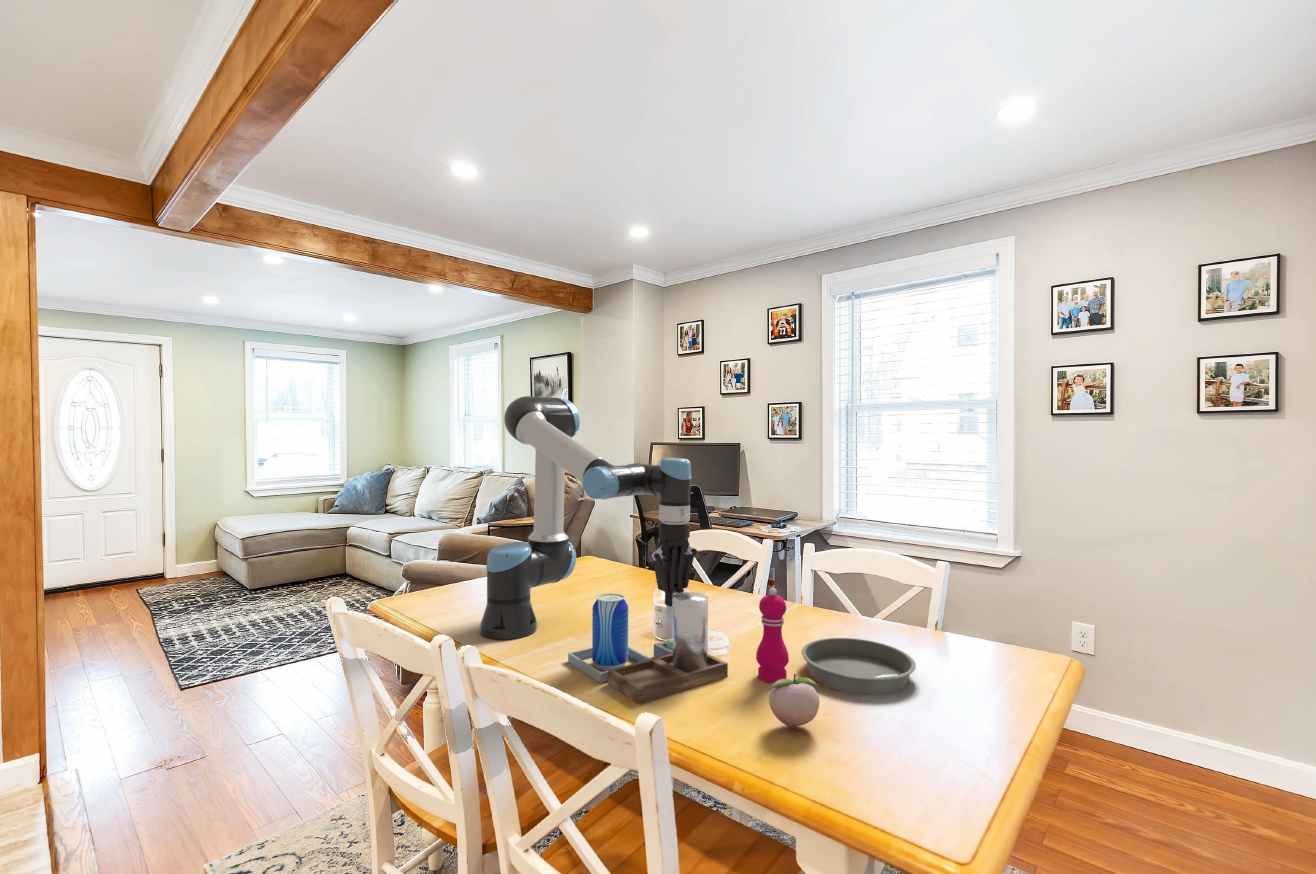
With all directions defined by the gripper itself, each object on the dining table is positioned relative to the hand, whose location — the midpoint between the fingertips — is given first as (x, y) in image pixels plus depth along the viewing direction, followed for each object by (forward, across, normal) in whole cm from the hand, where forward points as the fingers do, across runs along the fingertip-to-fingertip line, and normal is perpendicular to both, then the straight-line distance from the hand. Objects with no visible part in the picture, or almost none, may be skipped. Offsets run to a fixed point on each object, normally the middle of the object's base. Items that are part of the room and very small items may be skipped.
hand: (672, 618), depth 147 cm
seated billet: (+8, -3, -11) cm, 13 cm away
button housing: (+10, 0, -1) cm, 10 cm away
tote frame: (+10, -15, +4) cm, 18 cm away
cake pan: (+9, +28, -33) cm, 44 cm away
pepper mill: (+9, +11, -23) cm, 27 cm away
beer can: (+10, -15, +4) cm, 18 cm away
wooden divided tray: (+9, -9, -11) cm, 17 cm away
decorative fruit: (+9, -3, -42) cm, 43 cm away
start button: (+9, 0, -1) cm, 9 cm away
